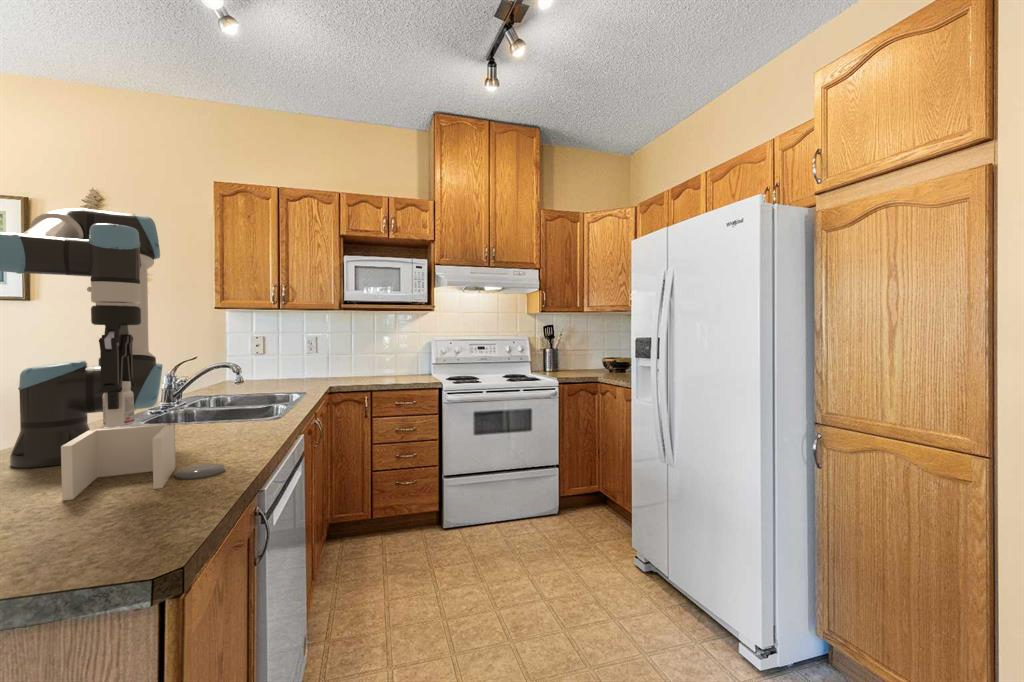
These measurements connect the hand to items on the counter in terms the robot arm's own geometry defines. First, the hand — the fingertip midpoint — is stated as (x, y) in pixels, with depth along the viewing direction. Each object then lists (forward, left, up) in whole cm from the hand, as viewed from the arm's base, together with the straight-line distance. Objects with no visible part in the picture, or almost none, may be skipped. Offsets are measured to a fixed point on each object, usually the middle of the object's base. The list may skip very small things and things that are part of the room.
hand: (118, 422), depth 94 cm
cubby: (-4, 0, -13) cm, 13 cm away
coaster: (-4, +13, -13) cm, 19 cm away
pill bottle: (0, 0, -1) cm, 1 cm away
